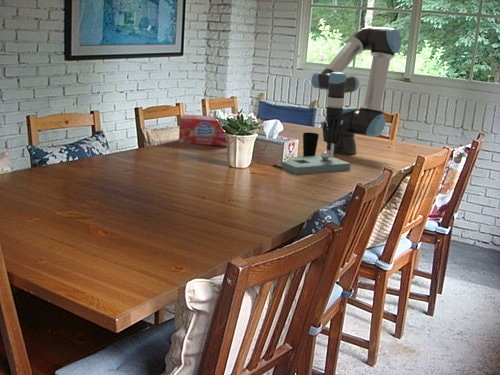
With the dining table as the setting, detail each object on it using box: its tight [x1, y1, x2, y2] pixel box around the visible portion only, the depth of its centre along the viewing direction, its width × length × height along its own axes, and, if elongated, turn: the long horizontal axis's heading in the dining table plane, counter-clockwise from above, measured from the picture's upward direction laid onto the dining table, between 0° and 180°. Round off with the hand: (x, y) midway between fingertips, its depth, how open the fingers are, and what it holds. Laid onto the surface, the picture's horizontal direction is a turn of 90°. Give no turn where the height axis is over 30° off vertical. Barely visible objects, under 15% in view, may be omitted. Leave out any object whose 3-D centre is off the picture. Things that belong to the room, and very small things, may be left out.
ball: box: [320, 151, 330, 160], centre depth 298 cm, size 4×4×4 cm
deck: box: [281, 154, 351, 175], centre depth 295 cm, size 30×18×3 cm, turn 120°
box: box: [178, 114, 227, 147], centre depth 334 cm, size 27×13×14 cm, turn 83°
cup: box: [302, 132, 320, 157], centre depth 313 cm, size 8×8×12 cm
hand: (330, 156), depth 299 cm, fingers closed
